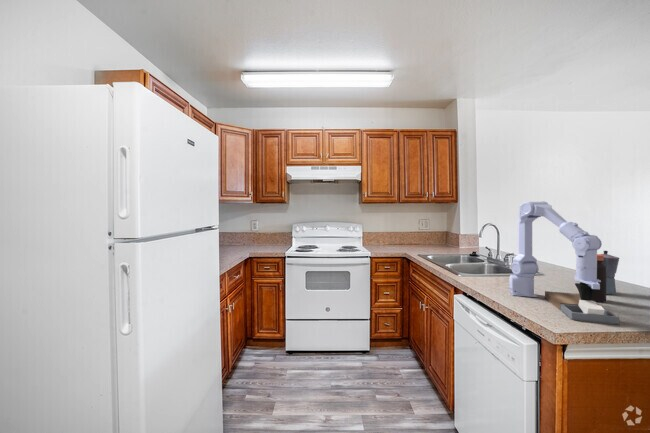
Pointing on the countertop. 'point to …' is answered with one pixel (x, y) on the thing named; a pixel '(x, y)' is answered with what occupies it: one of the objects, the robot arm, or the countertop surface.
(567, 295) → the walnut board
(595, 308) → the tile front
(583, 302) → the tile back
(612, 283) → the moka pot
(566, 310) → the box
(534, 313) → the countertop surface
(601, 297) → the bottle
